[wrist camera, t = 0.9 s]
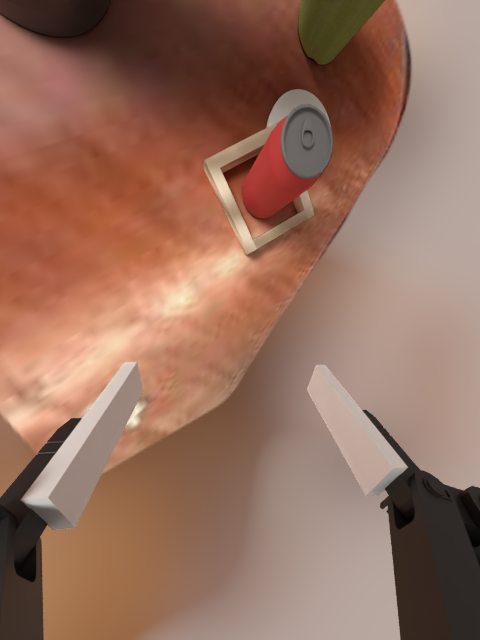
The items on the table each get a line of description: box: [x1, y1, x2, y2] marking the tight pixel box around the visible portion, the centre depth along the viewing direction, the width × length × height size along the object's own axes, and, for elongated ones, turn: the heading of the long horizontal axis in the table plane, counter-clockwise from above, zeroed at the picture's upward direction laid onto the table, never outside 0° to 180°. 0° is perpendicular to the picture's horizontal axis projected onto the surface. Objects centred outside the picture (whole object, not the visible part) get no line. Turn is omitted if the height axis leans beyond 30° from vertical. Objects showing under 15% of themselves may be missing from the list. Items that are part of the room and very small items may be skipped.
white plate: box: [266, 89, 331, 128], centre depth 26 cm, size 11×11×1 cm
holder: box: [204, 121, 315, 255], centre depth 26 cm, size 13×13×2 cm
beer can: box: [242, 104, 333, 218], centre depth 21 cm, size 7×7×12 cm
